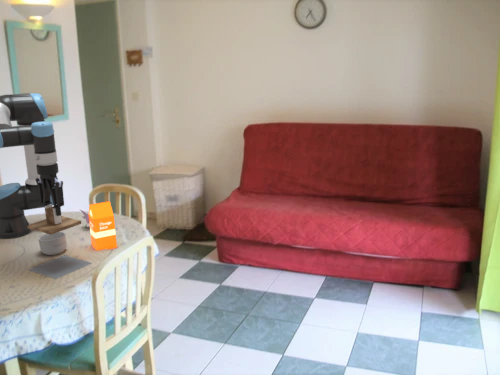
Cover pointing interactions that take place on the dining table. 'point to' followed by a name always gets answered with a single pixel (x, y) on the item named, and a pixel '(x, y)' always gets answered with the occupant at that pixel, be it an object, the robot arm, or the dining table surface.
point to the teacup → (53, 243)
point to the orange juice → (102, 226)
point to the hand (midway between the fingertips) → (54, 222)
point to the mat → (60, 266)
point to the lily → (86, 217)
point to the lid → (53, 223)
